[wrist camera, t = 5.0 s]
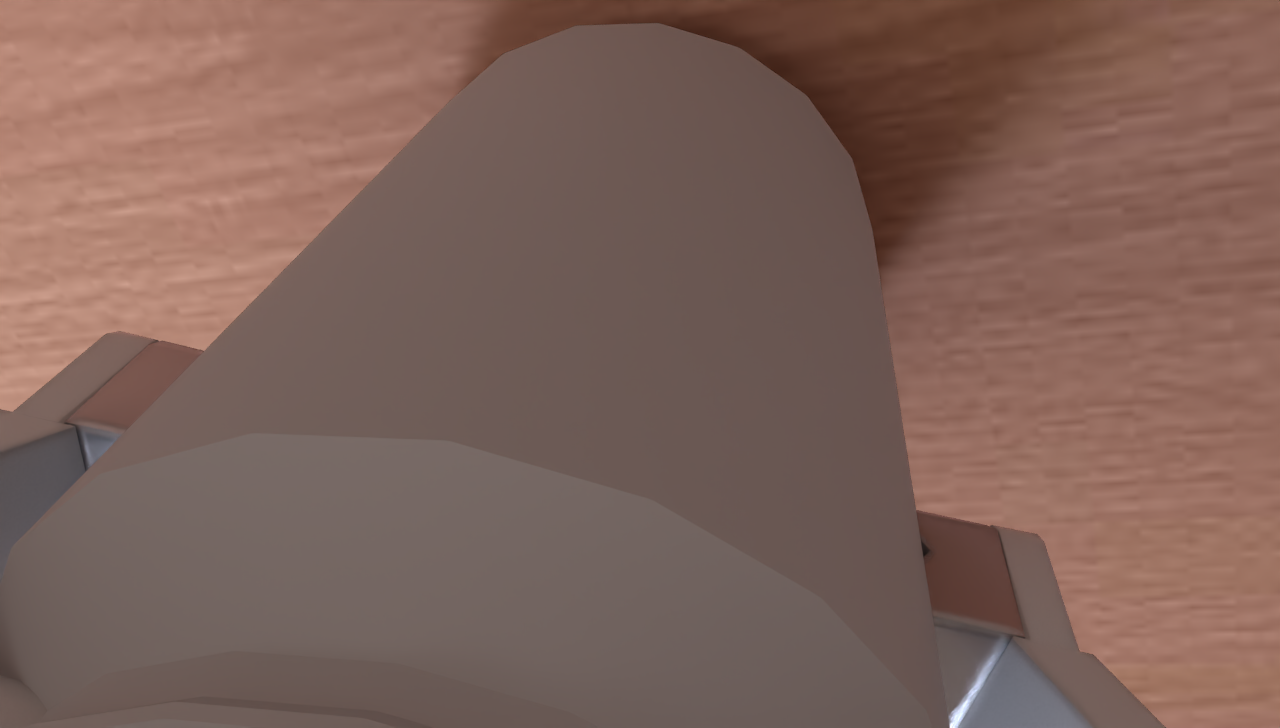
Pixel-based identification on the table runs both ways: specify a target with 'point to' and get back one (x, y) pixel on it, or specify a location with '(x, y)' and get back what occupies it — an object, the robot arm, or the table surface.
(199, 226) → the table surface
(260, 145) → the table surface
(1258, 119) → the table surface
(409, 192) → the can
